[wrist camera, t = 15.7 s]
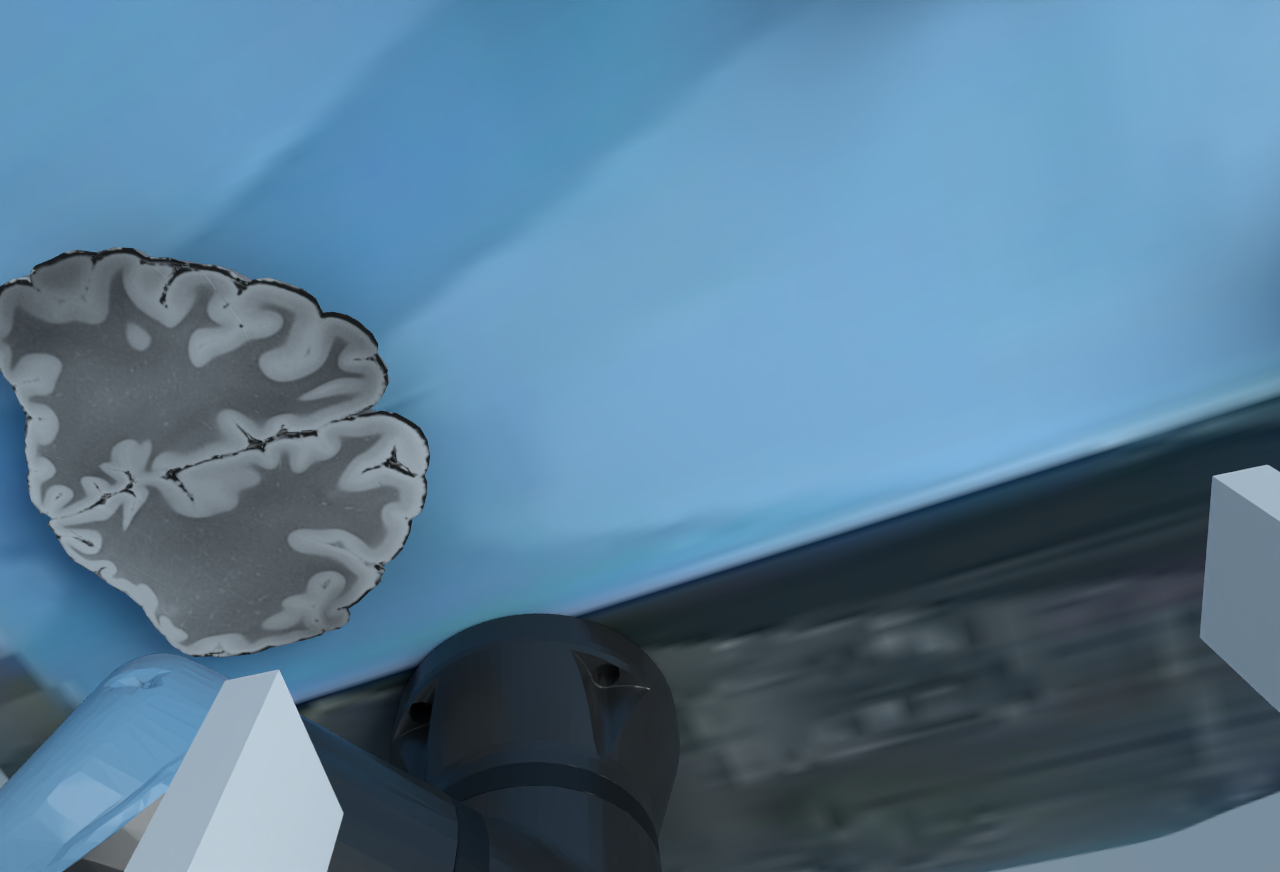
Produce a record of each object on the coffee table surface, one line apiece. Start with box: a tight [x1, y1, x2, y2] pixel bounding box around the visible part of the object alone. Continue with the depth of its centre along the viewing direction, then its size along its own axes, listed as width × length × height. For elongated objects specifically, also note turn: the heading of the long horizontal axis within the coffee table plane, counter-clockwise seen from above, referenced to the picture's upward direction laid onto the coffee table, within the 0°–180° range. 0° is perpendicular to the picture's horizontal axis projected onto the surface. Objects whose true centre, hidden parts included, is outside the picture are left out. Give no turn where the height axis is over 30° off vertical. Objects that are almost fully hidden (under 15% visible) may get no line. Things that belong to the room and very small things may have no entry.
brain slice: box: [0, 247, 430, 657], centre depth 40 cm, size 20×17×3 cm
